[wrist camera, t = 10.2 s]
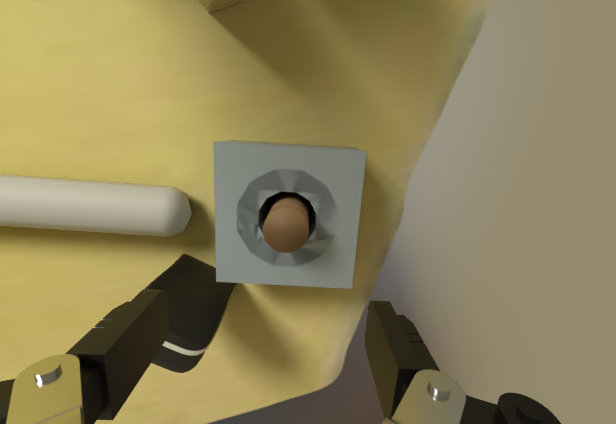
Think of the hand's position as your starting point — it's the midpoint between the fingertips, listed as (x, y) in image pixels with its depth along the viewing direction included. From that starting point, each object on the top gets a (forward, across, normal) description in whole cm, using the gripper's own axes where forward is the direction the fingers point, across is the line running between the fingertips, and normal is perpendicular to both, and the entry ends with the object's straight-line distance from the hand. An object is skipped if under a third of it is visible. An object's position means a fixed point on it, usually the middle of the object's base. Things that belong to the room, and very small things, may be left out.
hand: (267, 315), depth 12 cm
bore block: (+20, 0, 0) cm, 20 cm away
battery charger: (+20, +9, +9) cm, 24 cm away
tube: (+20, +22, +1) cm, 30 cm away
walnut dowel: (+20, 0, 0) cm, 20 cm away
